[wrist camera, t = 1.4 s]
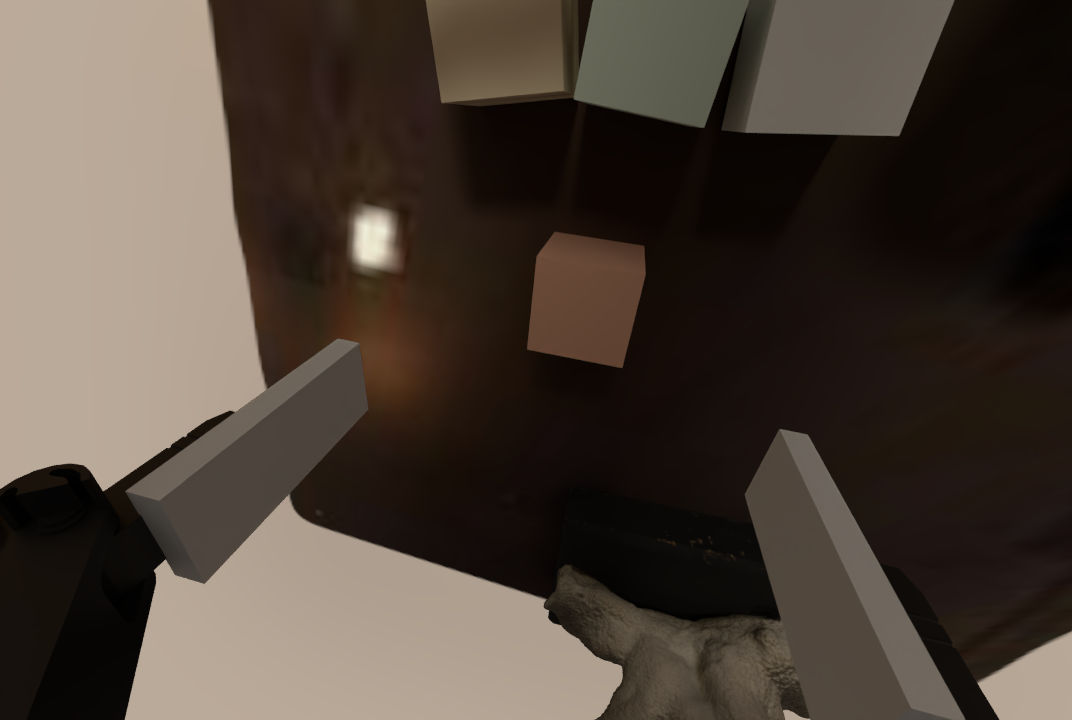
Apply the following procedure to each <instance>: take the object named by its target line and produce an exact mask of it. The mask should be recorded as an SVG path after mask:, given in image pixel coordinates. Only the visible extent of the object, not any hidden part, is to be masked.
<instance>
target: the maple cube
mask: <svg viewBox="0 0 1072 720" xmlns="http://www.w3.org/2000/svg"><path fill="white" fill-rule="evenodd" d="M426 5H427V12H428V18H429V24H430V31H431V37H432V44H433V50H434V57H435V63H436V70H437V76H438V82H439V89H440V95H441V102H442V103H448V104H460V105H471V106H490V105H500V104H511V103H521V102H532V101H543V100H553V99H564V98H574V94H575V89H576V84H577V79H578V74H579V34H578V0H426Z"/></svg>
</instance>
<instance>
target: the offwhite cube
mask: <svg viewBox="0 0 1072 720" xmlns="http://www.w3.org/2000/svg"><path fill="white" fill-rule="evenodd" d="M953 2H954V0H749V3H748V7H747V12H746V17H745V22H744V26H743V31H742V36H741V40H740V45H739V50H738V54H737V59H736V64H735V68H734V73H733V78H732V82H731V87H730V92H729V97H728V101H727V106H726V111H725V115H724V120H723V125H722V129H721V130H724V131H734V132H744V133H785V134H830V135H875V136H899V135H900V133H901V130H902V128H903V125H904V123H905V120H906V118H907V116H908V113H909V111H910V108H911V106H912V103H913V101H914V98H915V96H916V93H917V91H918V88H919V86H920V84H921V81H922V79H923V76H924V74H925V71H926V69H927V66H928V64H929V61H930V59H931V57H932V54H933V52H934V49H935V47H936V44H937V42H938V39H939V37H940V34H941V32H942V29H943V27H944V25H945V22H946V20H947V17H948V15H949V12H950V10H951V7H952V5H953Z"/></svg>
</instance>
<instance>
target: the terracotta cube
mask: <svg viewBox="0 0 1072 720" xmlns="http://www.w3.org/2000/svg"><path fill="white" fill-rule="evenodd" d="M645 275H646V271H645V253H644V246H642V245H636V244H629V243H623V242H617V241H610V240H604V239H597V238H591V237H585V236H578V235H572V234H565V233H559V232H554V234H553V235H552V236H551V238H550V239H549V240H548V242H547V243H546V244H545V246H544V247H543V248H542V250H541V251H540V253H539V254H538V255H537V258H536V268H535V278H534V288H533V297H532V307H531V317H530V326H529V336H528V346H527V350H532V351H537V352H542V353H548V354H553V355H558V356H563V357H568V358H573V359H578V360H583V361H589V362H594V363H599V364H604V365H609V366H614V367H619V368H622V367H623V363H624V359H625V355H626V351H627V347H628V343H629V339H630V335H631V331H632V327H633V323H634V319H635V315H636V311H637V307H638V303H639V299H640V295H641V291H642V287H643V283H644V279H645Z"/></svg>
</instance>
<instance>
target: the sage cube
mask: <svg viewBox="0 0 1072 720" xmlns="http://www.w3.org/2000/svg"><path fill="white" fill-rule="evenodd" d="M748 3H749V0H593V4H592V9H591V14H590V19H589V24H588V29H587V34H586V39H585V44H584V49H583V54H582V59H581V64H580V69H579V74H578V79H577V84H576V89H575V94H574V100H577V101H580V102H583V103H586V104H590V105H594V106H599V107H603V108H608V109H613V110H617V111H622V112H626V113H631V114H635V115H640V116H644V117H649V118H653V119H658V120H662V121H667V122H671V123H676V124H680V125H685V126H689V127H699V128H704V127H705V124H706V121H707V118H708V115H709V113H710V110H711V107H712V104H713V101H714V99H715V96H716V93H717V90H718V87H719V84H720V82H721V79H722V76H723V73H724V70H725V68H726V65H727V62H728V59H729V56H730V54H731V51H732V48H733V45H734V42H735V39H736V37H737V34H738V31H739V28H740V25H741V23H742V20H743V17H744V14H745V11H746V8H747V6H748Z"/></svg>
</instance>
